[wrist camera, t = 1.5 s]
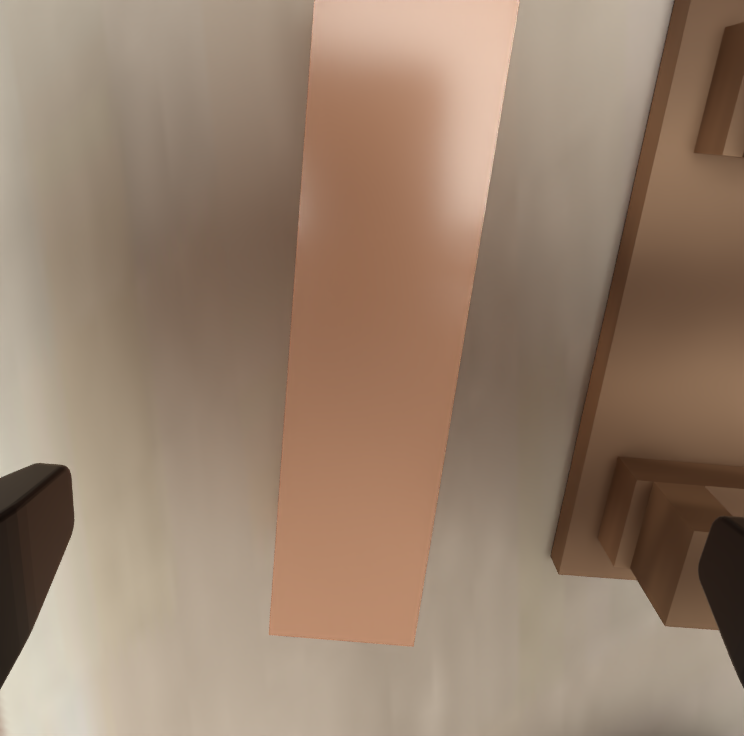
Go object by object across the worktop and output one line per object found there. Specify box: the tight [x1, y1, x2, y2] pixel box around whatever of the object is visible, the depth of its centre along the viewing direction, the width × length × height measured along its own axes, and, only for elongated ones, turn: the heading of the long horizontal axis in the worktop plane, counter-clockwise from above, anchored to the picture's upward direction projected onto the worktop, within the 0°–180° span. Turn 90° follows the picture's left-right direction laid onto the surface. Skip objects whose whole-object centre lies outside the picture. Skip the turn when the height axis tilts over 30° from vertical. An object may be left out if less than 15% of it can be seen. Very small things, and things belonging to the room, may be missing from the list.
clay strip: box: [269, 0, 520, 646], centre depth 18 cm, size 16×4×5 cm, turn 174°
